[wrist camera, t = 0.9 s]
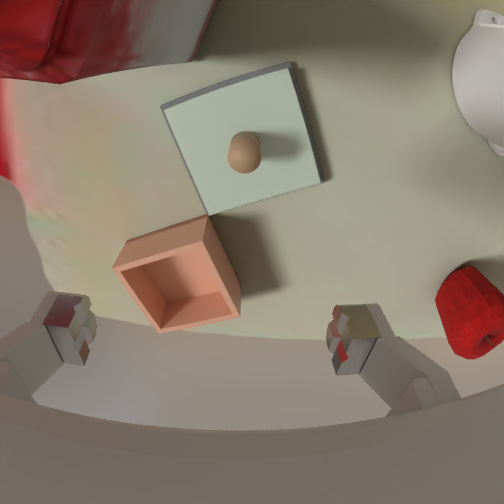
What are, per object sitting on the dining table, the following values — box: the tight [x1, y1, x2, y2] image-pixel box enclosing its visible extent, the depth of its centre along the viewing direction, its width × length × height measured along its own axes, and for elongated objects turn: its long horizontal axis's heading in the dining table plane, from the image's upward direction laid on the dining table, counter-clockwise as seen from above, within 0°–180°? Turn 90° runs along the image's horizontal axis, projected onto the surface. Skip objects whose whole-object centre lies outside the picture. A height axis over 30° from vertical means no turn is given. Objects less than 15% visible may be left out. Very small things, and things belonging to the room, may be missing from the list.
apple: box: [435, 266, 504, 359], centre depth 36 cm, size 10×10×14 cm
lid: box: [164, 68, 321, 215], centre depth 28 cm, size 12×12×5 cm
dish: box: [112, 214, 241, 333], centre depth 37 cm, size 11×11×6 cm
